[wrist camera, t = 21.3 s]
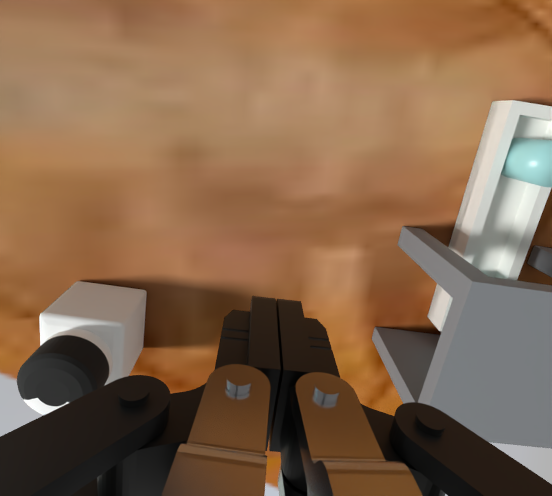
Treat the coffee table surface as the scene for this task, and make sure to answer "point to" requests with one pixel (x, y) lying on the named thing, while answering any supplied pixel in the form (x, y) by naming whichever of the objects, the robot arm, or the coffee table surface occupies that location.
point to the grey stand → (479, 348)
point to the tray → (502, 195)
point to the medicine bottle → (83, 344)
